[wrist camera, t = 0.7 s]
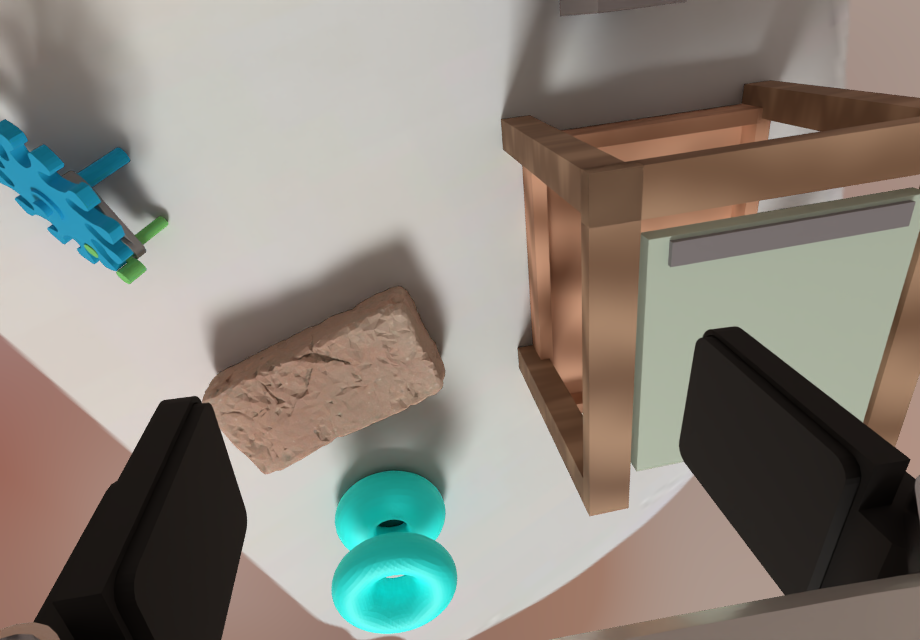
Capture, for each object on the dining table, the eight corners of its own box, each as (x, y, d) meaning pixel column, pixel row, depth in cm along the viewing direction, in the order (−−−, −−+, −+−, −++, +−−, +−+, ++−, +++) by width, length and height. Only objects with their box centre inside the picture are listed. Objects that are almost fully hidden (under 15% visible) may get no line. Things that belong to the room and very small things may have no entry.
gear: (-62, 140, 32) (-15, 117, 26) (31, 90, 35) (93, 60, 29) (87, 285, 38) (153, 295, 32) (154, 232, 41) (226, 232, 35)
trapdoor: (639, 232, 26) (652, 242, 25) (912, 187, 27) (936, 194, 26) (629, 459, 33) (638, 475, 31) (849, 414, 34) (866, 428, 33)
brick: (399, 277, 42) (403, 304, 38) (446, 360, 46) (454, 392, 42) (209, 369, 43) (193, 405, 39) (270, 442, 47) (261, 482, 43)
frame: (501, 119, 38) (588, 174, 23) (770, 80, 39) (1009, 108, 25) (521, 406, 49) (589, 562, 35) (730, 366, 51) (877, 499, 36)
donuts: (409, 654, 47) (305, 620, 43) (401, 555, 55) (314, 519, 51) (485, 581, 44) (380, 538, 40) (464, 490, 53) (376, 447, 49)
